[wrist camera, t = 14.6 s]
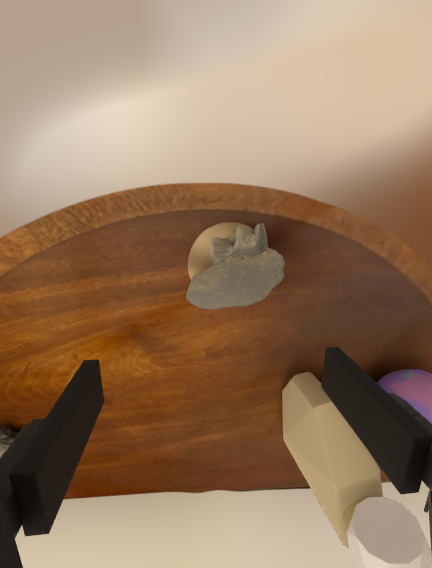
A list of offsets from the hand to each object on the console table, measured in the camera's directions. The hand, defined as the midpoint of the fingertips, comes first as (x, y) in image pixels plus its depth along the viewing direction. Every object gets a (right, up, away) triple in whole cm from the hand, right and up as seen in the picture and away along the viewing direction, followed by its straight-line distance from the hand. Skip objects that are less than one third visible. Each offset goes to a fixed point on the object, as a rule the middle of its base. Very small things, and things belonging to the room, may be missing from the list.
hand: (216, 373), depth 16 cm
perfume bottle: (+17, -19, +37) cm, 45 cm away
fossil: (+2, +8, +26) cm, 28 cm away
